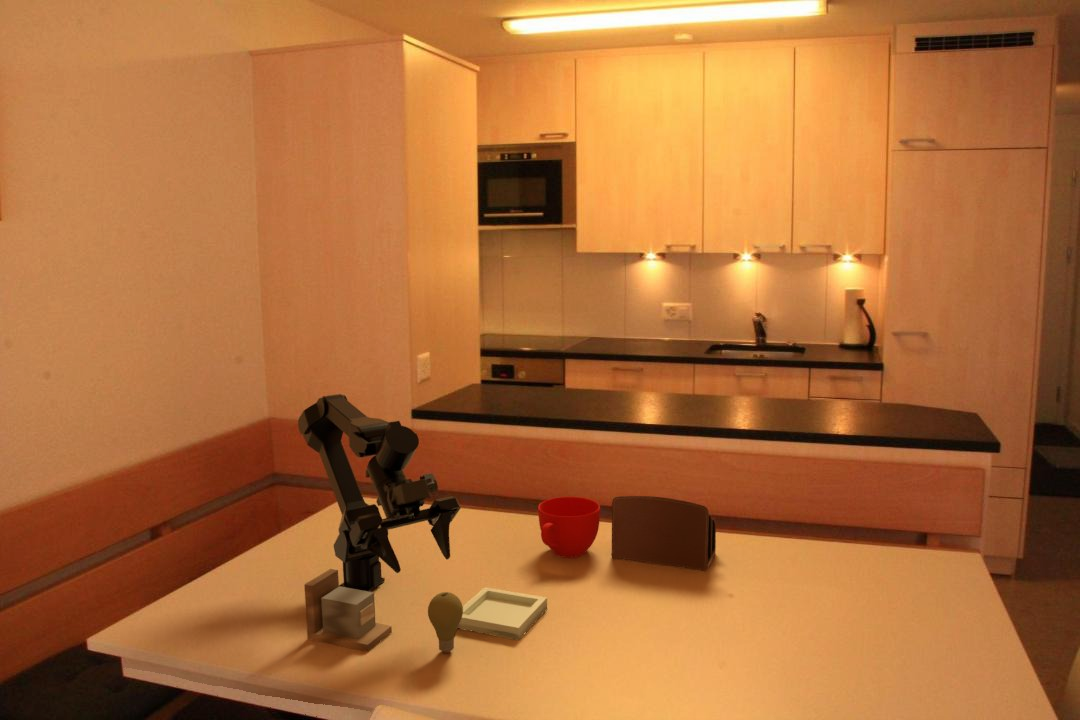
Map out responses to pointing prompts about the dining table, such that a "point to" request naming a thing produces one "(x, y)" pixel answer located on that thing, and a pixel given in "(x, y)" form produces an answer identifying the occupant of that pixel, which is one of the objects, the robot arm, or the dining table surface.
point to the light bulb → (445, 618)
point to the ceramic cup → (569, 525)
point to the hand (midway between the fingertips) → (424, 564)
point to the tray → (502, 612)
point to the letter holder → (663, 532)
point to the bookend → (341, 614)
